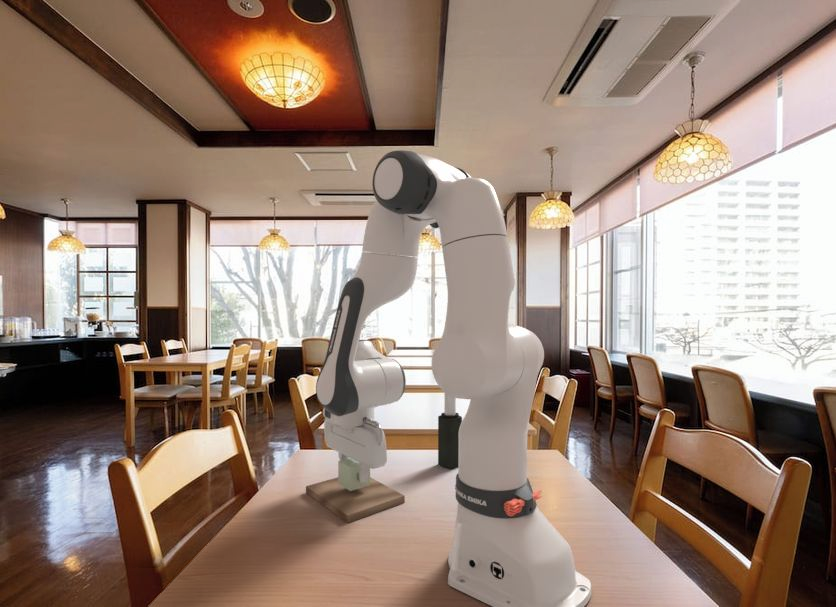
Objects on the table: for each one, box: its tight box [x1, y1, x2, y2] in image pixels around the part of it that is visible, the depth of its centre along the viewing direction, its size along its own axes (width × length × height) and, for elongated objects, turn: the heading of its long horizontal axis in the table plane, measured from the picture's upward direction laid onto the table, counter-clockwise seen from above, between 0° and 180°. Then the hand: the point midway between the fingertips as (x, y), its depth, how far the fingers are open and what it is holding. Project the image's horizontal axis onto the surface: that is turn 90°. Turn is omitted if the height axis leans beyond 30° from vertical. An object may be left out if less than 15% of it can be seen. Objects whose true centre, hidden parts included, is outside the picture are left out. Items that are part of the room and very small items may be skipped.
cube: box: [337, 458, 371, 491], centre depth 99 cm, size 5×5×5 cm
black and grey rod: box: [437, 392, 463, 470], centre depth 119 cm, size 5×5×25 cm
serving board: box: [305, 476, 406, 524], centre depth 99 cm, size 18×14×2 cm
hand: (354, 476), depth 99 cm, fingers closed on cube, 5 cm apart
